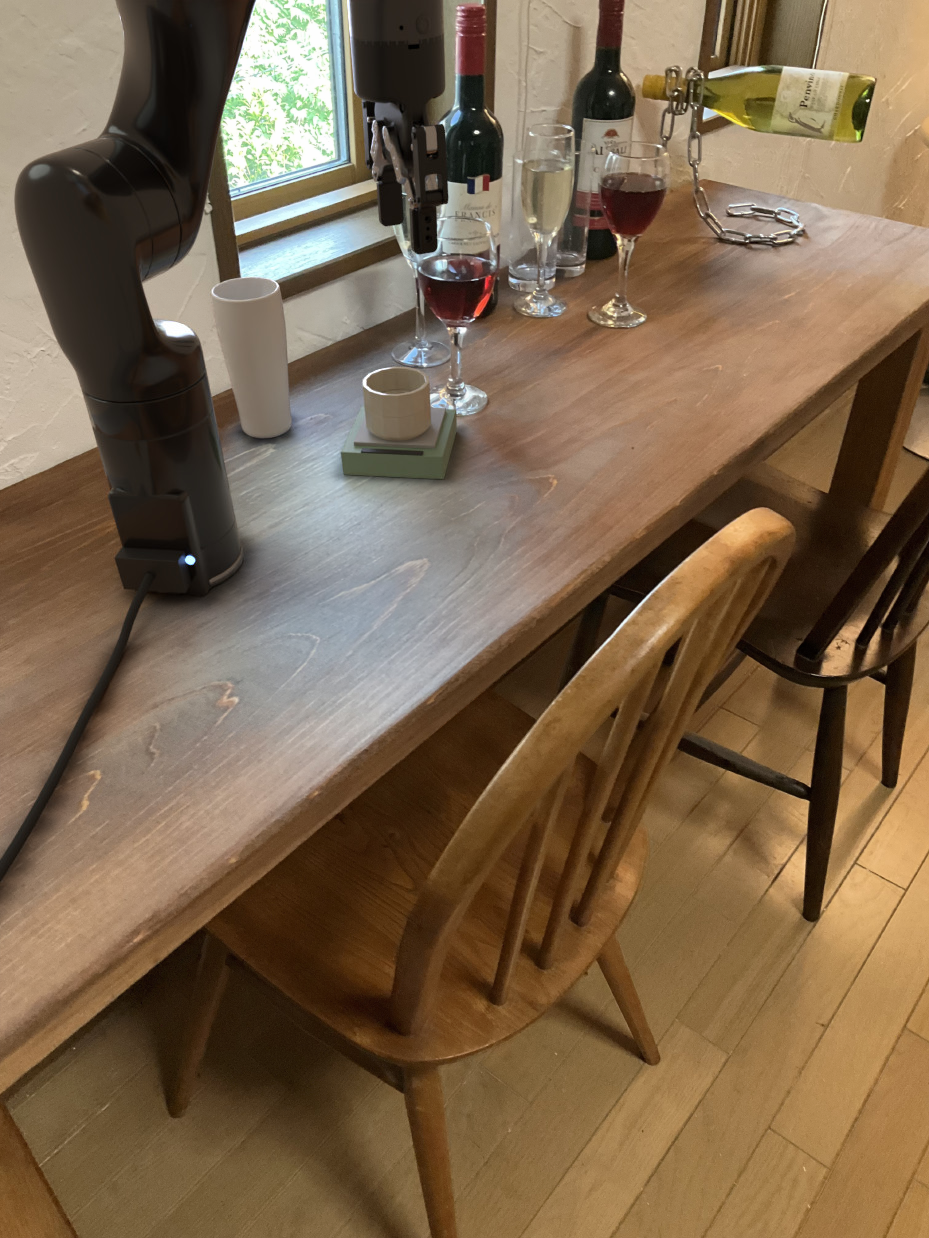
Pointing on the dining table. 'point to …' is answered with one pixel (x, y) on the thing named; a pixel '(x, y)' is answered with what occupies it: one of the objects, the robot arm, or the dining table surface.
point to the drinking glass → (255, 352)
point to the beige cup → (397, 403)
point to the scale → (401, 449)
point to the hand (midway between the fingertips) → (407, 238)
